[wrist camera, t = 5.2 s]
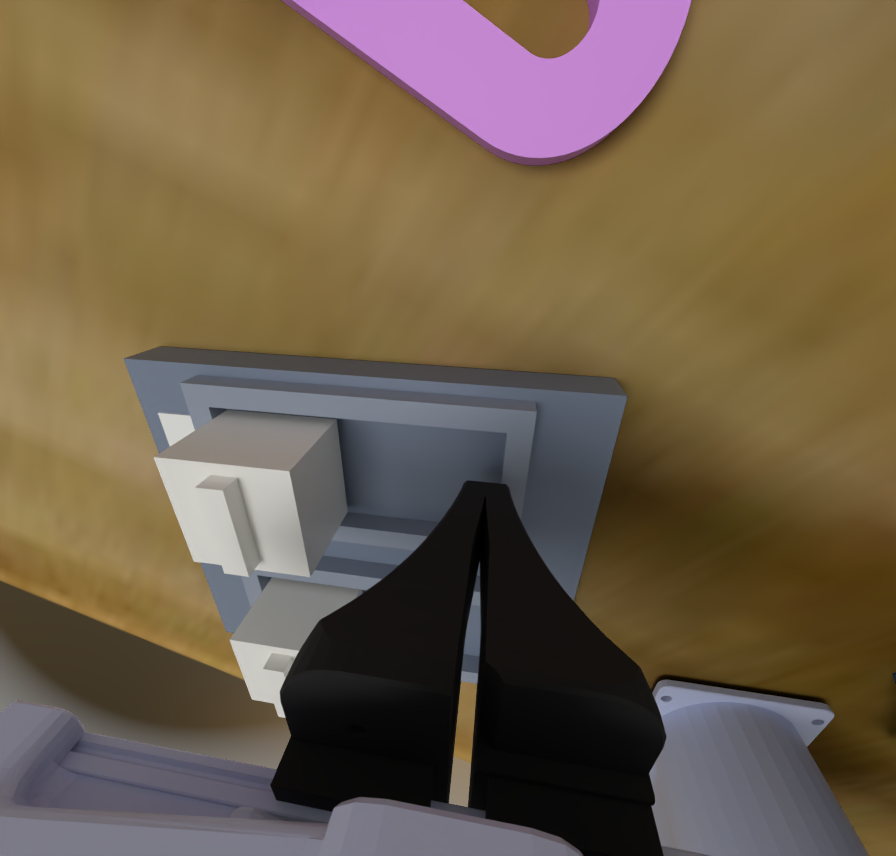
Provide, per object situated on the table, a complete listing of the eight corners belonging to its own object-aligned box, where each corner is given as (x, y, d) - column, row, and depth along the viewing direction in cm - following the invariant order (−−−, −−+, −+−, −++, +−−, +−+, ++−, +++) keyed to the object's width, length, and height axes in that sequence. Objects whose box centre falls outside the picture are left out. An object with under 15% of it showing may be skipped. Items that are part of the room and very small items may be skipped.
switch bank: (549, 651, 20) (554, 701, 18) (244, 605, 22) (216, 646, 20) (614, 378, 13) (635, 406, 11) (159, 346, 15) (102, 365, 13)
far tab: (368, 641, 19) (337, 732, 15) (290, 629, 19) (243, 715, 16) (361, 584, 17) (325, 672, 13) (275, 572, 17) (218, 655, 14)
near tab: (347, 511, 15) (301, 593, 12) (251, 500, 15) (180, 575, 12) (336, 419, 13) (277, 484, 10) (227, 409, 13) (134, 468, 10)
